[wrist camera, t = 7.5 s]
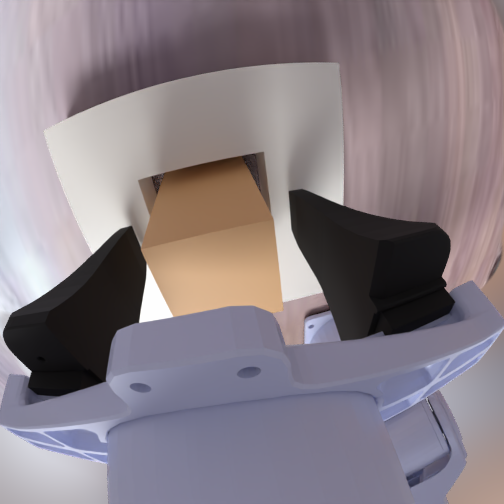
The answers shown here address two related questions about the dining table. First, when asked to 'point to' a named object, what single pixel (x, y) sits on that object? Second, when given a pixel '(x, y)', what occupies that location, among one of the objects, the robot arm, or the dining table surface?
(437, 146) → the dining table surface
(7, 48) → the dining table surface
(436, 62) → the dining table surface
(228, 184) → the peg
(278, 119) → the socket plate
